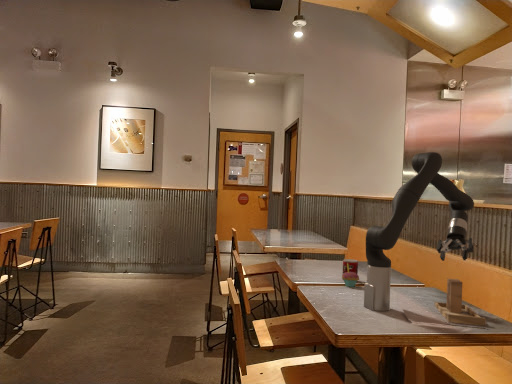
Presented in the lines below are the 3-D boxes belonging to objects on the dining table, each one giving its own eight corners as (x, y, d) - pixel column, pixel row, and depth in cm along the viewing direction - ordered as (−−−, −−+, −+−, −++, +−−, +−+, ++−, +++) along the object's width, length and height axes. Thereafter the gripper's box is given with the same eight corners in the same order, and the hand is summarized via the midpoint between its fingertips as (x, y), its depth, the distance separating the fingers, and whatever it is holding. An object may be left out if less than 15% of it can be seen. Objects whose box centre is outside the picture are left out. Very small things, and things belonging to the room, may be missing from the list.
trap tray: (434, 308, 160) (434, 299, 160) (466, 311, 157) (466, 302, 157) (448, 325, 138) (448, 314, 138) (485, 329, 135) (485, 318, 136)
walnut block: (446, 307, 157) (447, 278, 157) (457, 309, 156) (458, 279, 156) (450, 312, 151) (451, 281, 151) (461, 313, 150) (462, 282, 150)
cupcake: (346, 288, 191) (347, 263, 191) (338, 284, 199) (339, 260, 199) (362, 287, 193) (362, 263, 193) (353, 283, 201) (354, 260, 201)
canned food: (339, 279, 211) (340, 259, 211) (351, 278, 215) (351, 258, 215) (348, 282, 204) (349, 261, 205) (360, 281, 208) (361, 261, 208)
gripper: (437, 226, 176) (432, 254, 167) (472, 223, 167) (468, 253, 157) (443, 237, 180) (438, 265, 170) (477, 234, 170) (474, 264, 161)
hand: (453, 259), depth 164 cm, fingers open, 8 cm apart
